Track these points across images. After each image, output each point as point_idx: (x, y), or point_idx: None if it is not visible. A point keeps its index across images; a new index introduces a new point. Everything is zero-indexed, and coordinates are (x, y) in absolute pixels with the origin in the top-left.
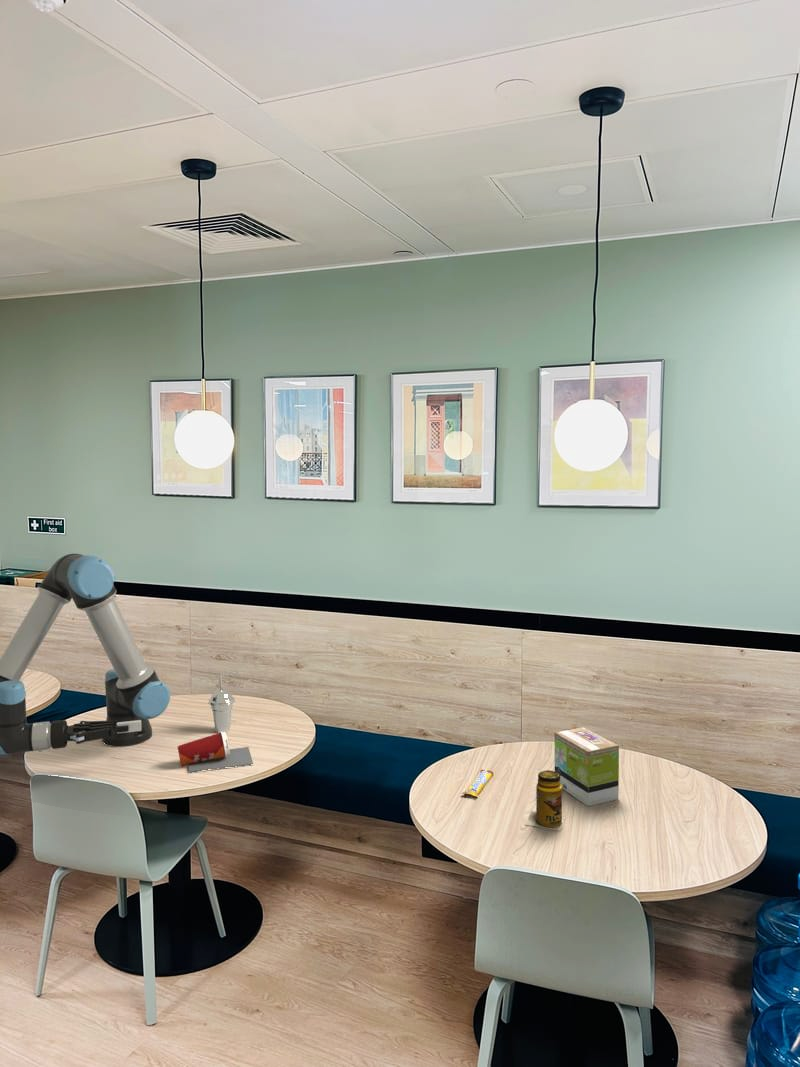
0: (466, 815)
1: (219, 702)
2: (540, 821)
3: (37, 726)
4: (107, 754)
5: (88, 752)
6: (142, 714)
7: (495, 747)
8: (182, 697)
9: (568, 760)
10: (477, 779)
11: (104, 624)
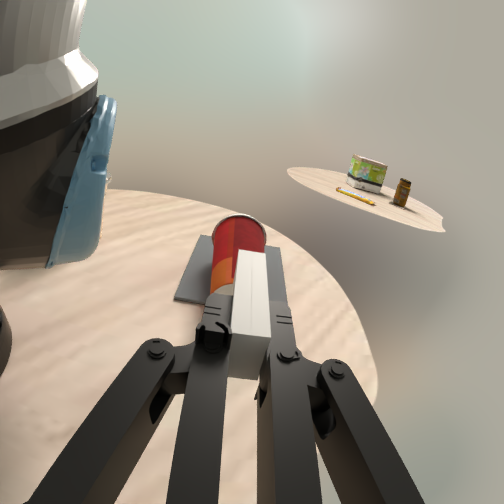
0: (397, 214)
1: None
2: (403, 205)
3: None
4: (17, 440)
5: None
6: (97, 242)
7: (291, 175)
8: None
9: (371, 172)
10: (353, 193)
11: None
